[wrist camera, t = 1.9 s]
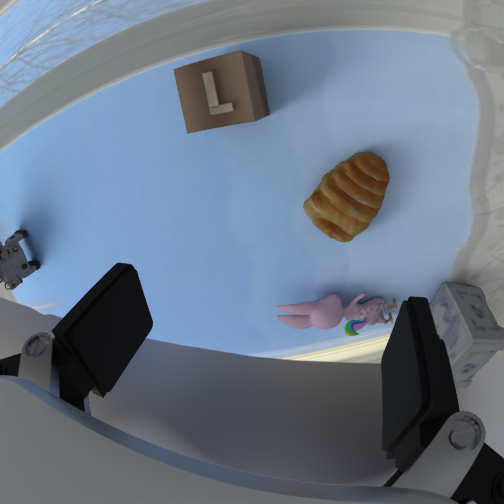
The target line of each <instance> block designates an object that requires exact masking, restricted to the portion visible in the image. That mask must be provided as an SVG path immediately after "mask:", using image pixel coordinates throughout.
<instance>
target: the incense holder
mask: <svg viewBox="0 0 504 504" xmlns="http://www.w3.org/2000/svg"><path fill="white" fill-rule="evenodd" d="M429 306H430V309H431V313H432V316H433V319H434V323H435V326H436V330H437V334H438V338H439V339H442V340H444V342H445V345H446V349H447V353H448V357H449V361H450V365H451V369H452V374H453V378H454V383H455V388H456V389H462V388H467V387H468V386H469V385H470V384H471V381H472V380H471V378H472V377H473V376H474V375H475V374H476V373H477V372H478V371H479V370H480V369H481V368H482V367H483V366H484V365H485V364H486V363H487V362H488V361H489V359H491V358H492V357H493V356H494V354H495V353H496V352H497V351H500V350H503V349H504V328H503V327H500V326H499V325H498V324H497V322H496V320H495V318H494V316H493V314H492V312H491V311H490V309H489V307H488V305H487V304H486V301H485V296H484V294H483V292H482V290H481V288H479V287H478V288H477V287H474V286H473V287H470V286H466V285H460V284H455V283H450V282H445V283H443V284H442V286H441V287H440V289H439V291H438V293H437V294H436V296H435V298H434V300H433V302H432V303H431V305H429Z"/></svg>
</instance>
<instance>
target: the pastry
mask: <svg viewBox="0 0 504 504" xmlns="http://www.w3.org/2000/svg"><path fill="white" fill-rule="evenodd" d="M388 183H389V173H388V170H387V165H386V163H385V161H384V160H383V159H382V158H380V157H379V156H377V155H376V154H374V153H371V152H364V153H362V152H360V153H356V154H354V155H353V156H352V157H350V158H349V159H348V160H346V161H344V162H341V163H340V164H339V165H338V166H336V167H335V168H334V169H332V170H331V171H330V172H329V173H327V174H325V175H324V176H323V178H322V180H321V183H320V184H319V186H318V187H317V188H316V189H315V191H314V192H313V193H312V195H311V196H310V198H309V199H308V200H306V201H305V202H304V205H303V207H304V211H305V212H306V214H307V216H308V217H309V219H311V220H312V222H313V224H314V225H315V226H316V227H317V228H319V229H320V230H321V231H322V232H323V233H324V234H326V235H327V236H328V237H330V238H332V239H336V240H337V241H340V242H349V241H351V240H352V239H353V238H354V237H355V236H356V235H357V234H360V233H361V232H362V231H364V230H365V229H366V228H367V227H368V226H369V224H370V223H371V221H372V220H373V219H374V217H375V216H376V215H377V214H378V210H379V209H380V207H381V204H382V201H383V199H384V194H385V190H386V187H387V184H388Z"/></svg>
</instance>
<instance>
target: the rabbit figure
mask: <svg viewBox="0 0 504 504" xmlns="http://www.w3.org/2000/svg"><path fill="white" fill-rule="evenodd" d="M365 296H366V294H365V293H364V292H363V293H361V294H360V295H358V296H357V297H356V298H355V299H353V300H352V301H351V303H350V304H349V305H348V306H347V307H343V306H342V303H341V298H340V297H339V296H338V295H337V294H331V295H328V296H326V297H323V298H320V299H318V300H317V301H315V302H302V303H298V304H291V305H280V306H277V307H276V308H277V309H279V310H282V311H284V312H287V313H290V314H297V315H277V318H278V319H279V320H280V321H281V322H283V323H284V324H285V325H287V326H289V327H292V328H298V329H304V328H309V327H311V326H314V327H317V328H322V329H328V328H333V327H335V326H337V325H338V324H339V323H340V322H341V320H342V318H343V317H346V318H347V321H348V323H347V324H346V326H345V332H346V334H347V335H349V336H355V335H358V333H357V332H355V331H357V330H358V329H361V328H362V327H364V326H365V325H366V324H367V325H374V324H375V323H384V324H386V323H387V322H389V321H392V320H393V319H392V315H391V313H389V314H390V315H389V319H388V320H386V319H385V318H384V316H383V314H382V311H383V310H386V309H391V308H393V307H394V306H395V307H396V306H397V304H396V300H395V298H393V305H392V306H389V305H388V304H387V303H386V302H385V301H384V300H383V299H382V298H380V297H375V298H373V299H371V300H369V301H367V302H365V303H363V304H357V302H358V300H360V299H361V298H363V297H365ZM396 308H397V307H396ZM354 318H359V319H360V320H353V319H354ZM392 323H394V322H393V321H392Z"/></svg>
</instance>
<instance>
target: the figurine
mask: <svg viewBox="0 0 504 504" xmlns="http://www.w3.org/2000/svg"><path fill="white" fill-rule="evenodd" d="M27 236H28V235H27V232H26V231H24V230H23V231H22V230H19V231H18V230H17V231H16V232H15V233H14V234H13V235H12V236H11V237H9V238H8V239H7V240H6V241H5V244H6V245H4V246H2V243H1V241H0V279H1V281H0V283H1V282H3V281H4V283H5V285H6V284H7V286H10V285H11V284H12V285H11V286H10V288H9V289H11V290H13V289H14V288H16V287H17V286H18V285H19V284H20V283H22V282H23V281H22V279H23V278H25V277H27V276H29V275H30V274H32V273H33V272H34V271H35V270H38V269H39V268H41V267H40V264H39V262H37V261H36V262H34V261H29V262H28V261H27V259H26V256H25V254H24V252H23V249H22V248H21V246H20V245H19V243H18V241H20V240H21V239H23V238H26V237H27ZM5 288H6V286H5ZM6 289H7V288H6ZM9 289H8V290H9Z"/></svg>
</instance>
